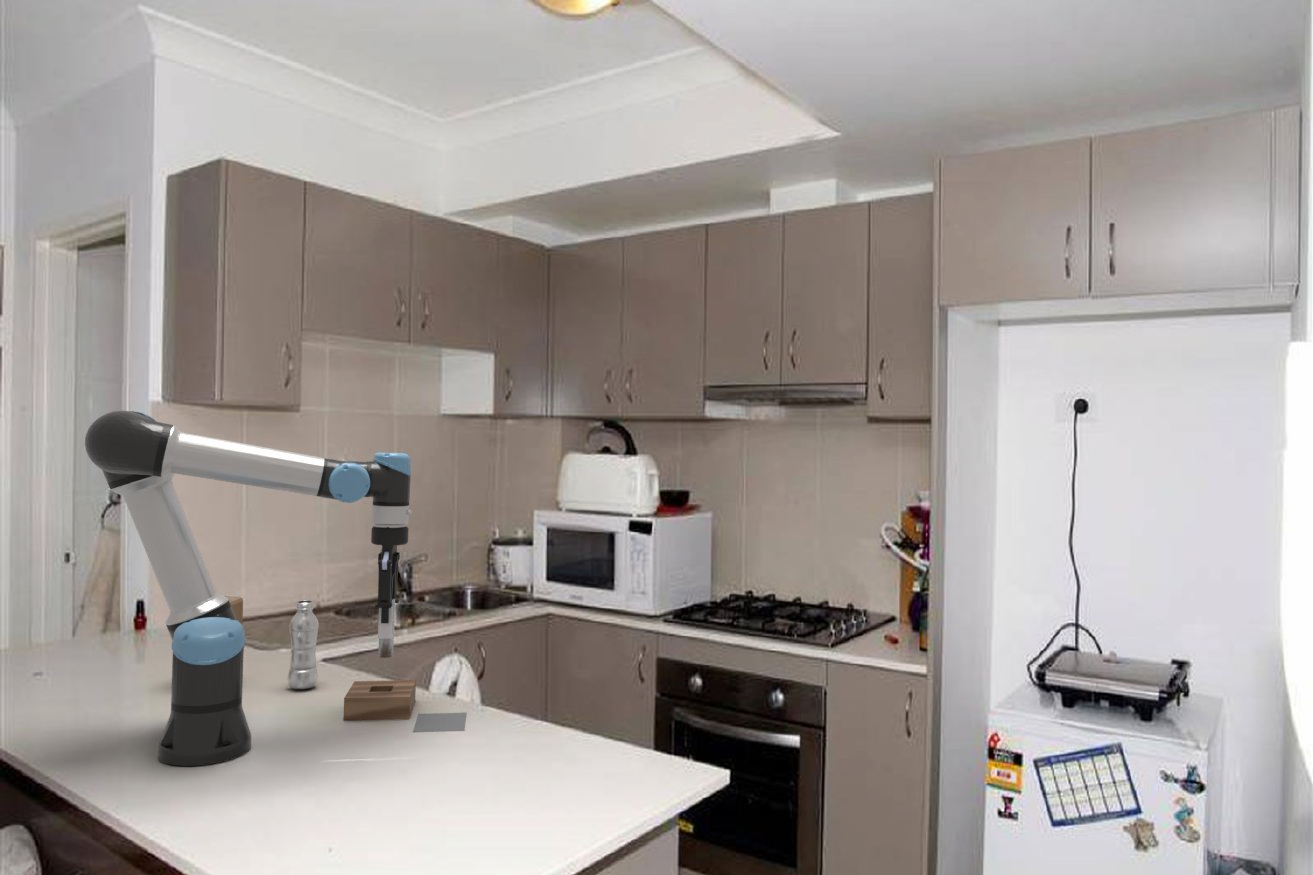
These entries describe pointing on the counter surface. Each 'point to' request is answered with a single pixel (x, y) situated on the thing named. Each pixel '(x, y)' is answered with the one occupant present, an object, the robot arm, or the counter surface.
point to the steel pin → (387, 640)
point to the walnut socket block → (380, 700)
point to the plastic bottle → (303, 647)
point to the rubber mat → (440, 722)
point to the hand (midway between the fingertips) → (386, 636)
